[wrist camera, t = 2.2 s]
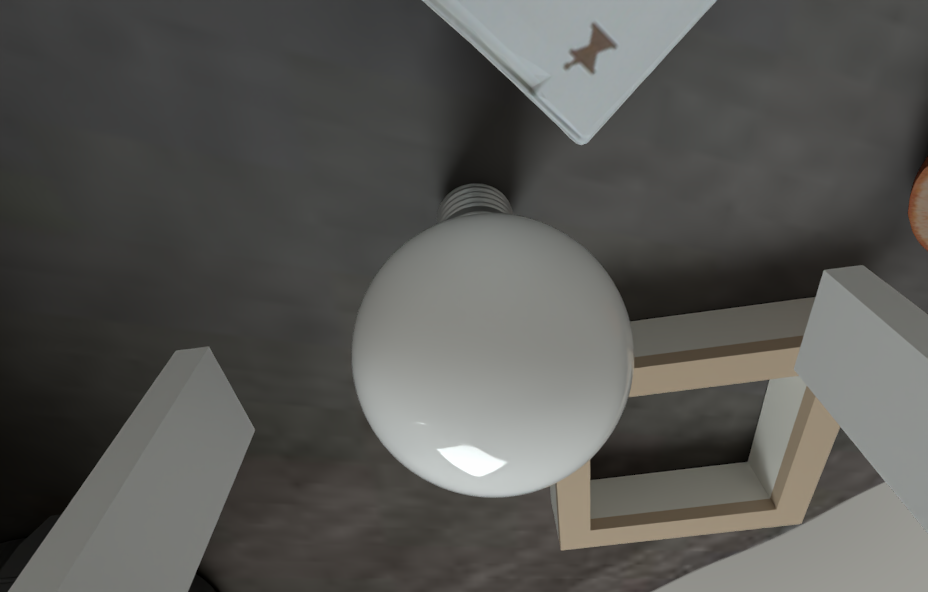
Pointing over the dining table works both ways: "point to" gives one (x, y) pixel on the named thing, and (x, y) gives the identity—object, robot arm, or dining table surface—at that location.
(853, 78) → the dining table surface
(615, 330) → the lightbulb
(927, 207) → the fruit slice
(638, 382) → the square frame
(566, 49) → the small box
